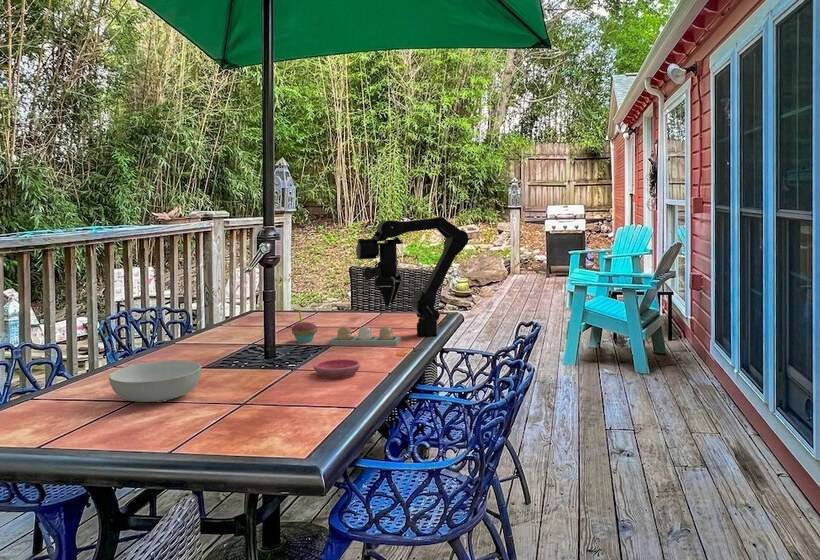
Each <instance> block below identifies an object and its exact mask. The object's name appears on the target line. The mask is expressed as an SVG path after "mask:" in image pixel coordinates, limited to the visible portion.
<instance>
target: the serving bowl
mask: <svg viewBox="0 0 820 560" xmlns="http://www.w3.org/2000/svg"><path fill="white" fill-rule="evenodd" d="M201 376H202V365H201V364H200V363H198V362H195V361H189V360H158V361H157V360H156V361H150V362H149V361H147V362H143V363H137V364H136V363H135V364H131V365H128V366H127V365H126V366H125V367H122V368H118V369H116V370H114V371H112V372H110V374H109V375H108V380H109V384H110V386H111V389H112V390H113V392H114V393H115V394H116V395H117V396H118V397H120V398H122V399H123V400H126V401H130V402H136V403H143V402H157V401H164V400H168V401H170V400H169V399H172V400H174V399H176V398H178V397H181V396H184V395H186V394H188V393H189V392H191V391H192V390H193V389H195V387H196V386H197V385H198V383H199V381H200V379H201ZM173 398H174V399H173ZM164 402H165V401H164ZM157 403H158V402H157Z"/></svg>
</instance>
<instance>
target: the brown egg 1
mask: <svg viewBox="0 0 820 560" xmlns="http://www.w3.org/2000/svg"><path fill="white" fill-rule="evenodd" d="M336 336H337V337H338V340H351V336H352V332H351V329H350V327H348V326H341V327H339V328H338V330H337V333H336Z"/></svg>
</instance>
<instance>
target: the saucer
mask: <svg viewBox="0 0 820 560" xmlns="http://www.w3.org/2000/svg"><path fill="white" fill-rule="evenodd" d="M360 368H361V362H360V361H359V360H357V359H349V358H337V359H336V358H335V359H327V360H322V361H319V362H317V363H315V364H313V370H314V371H315V372H316V373H317V375H319V377H321V378H324V379H333V380H337V379H345V378H350V377H353V376H354V375H356V373H357V372H358V371H359V369H360Z"/></svg>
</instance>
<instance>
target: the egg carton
mask: <svg viewBox="0 0 820 560" xmlns="http://www.w3.org/2000/svg"><path fill="white" fill-rule="evenodd" d="M327 341H328V346H379V347H380V346H381V347H382V346H389V347H391V346H393V347H394V346H398V345H399V344H400V343H401V341H402V335H393V340H380V338H379V335H372V340H358V335H351V340H338V337H337V335H334V336H333V337H331V339H329V340H327Z"/></svg>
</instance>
